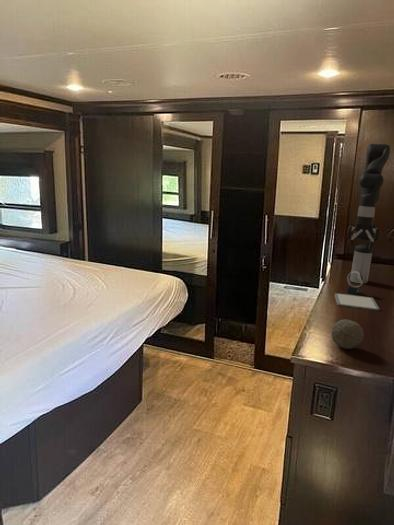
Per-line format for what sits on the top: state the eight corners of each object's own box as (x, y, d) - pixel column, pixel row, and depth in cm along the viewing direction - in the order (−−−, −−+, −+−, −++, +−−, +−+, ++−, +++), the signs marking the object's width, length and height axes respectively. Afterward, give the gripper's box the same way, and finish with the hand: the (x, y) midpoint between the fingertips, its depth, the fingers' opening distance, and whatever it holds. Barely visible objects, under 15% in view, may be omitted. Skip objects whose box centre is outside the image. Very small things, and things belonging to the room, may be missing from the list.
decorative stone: (329, 349, 135) (333, 322, 132) (330, 340, 142) (334, 314, 140) (361, 356, 131) (366, 328, 129) (360, 346, 139) (365, 319, 137)
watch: (360, 295, 198) (364, 274, 195) (344, 292, 202) (347, 271, 200) (362, 293, 203) (366, 272, 200) (346, 289, 207) (349, 269, 204)
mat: (334, 294, 198) (334, 292, 198) (372, 298, 194) (372, 297, 194) (337, 305, 181) (338, 304, 181) (379, 310, 177) (380, 309, 177)
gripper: (379, 216, 195) (374, 248, 199) (349, 213, 198) (344, 245, 202) (382, 217, 188) (377, 250, 192) (351, 215, 191) (346, 247, 195)
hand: (360, 248), depth 197 cm, fingers open, 8 cm apart
